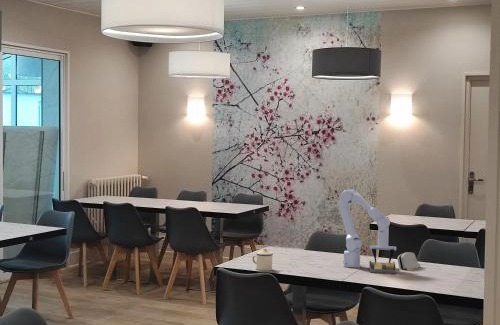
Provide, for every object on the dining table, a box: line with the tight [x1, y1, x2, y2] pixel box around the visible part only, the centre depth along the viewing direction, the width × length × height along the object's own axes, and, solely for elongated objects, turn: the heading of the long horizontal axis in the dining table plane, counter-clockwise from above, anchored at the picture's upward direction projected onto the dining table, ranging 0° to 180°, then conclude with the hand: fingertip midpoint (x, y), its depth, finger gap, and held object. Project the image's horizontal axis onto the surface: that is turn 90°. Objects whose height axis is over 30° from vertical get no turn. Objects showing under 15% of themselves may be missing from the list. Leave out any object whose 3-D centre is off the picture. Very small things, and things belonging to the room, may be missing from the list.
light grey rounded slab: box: [397, 251, 421, 271], centre depth 384 cm, size 17×5×10 cm, turn 140°
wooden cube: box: [374, 262, 382, 269], centre depth 369 cm, size 4×4×4 cm
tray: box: [369, 266, 397, 275], centre depth 371 cm, size 14×10×2 cm
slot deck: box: [368, 260, 396, 269], centre depth 381 cm, size 14×9×3 cm, turn 81°
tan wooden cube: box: [385, 261, 394, 270], centre depth 373 cm, size 4×4×4 cm
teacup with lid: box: [251, 247, 273, 272], centre depth 371 cm, size 12×9×12 cm
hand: (382, 262), depth 376 cm, fingers open, 7 cm apart
